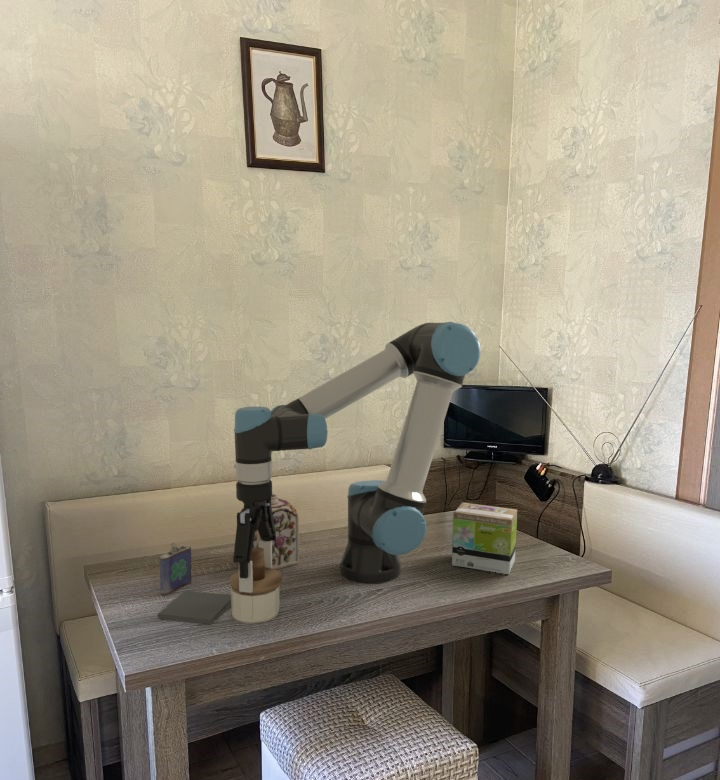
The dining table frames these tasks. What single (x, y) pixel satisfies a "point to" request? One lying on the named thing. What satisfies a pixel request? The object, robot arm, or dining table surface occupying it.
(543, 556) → the dining table surface
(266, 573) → the lid
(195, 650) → the dining table surface
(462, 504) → the tea box
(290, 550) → the decorative jar
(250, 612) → the bowl
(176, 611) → the mat
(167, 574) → the flask
